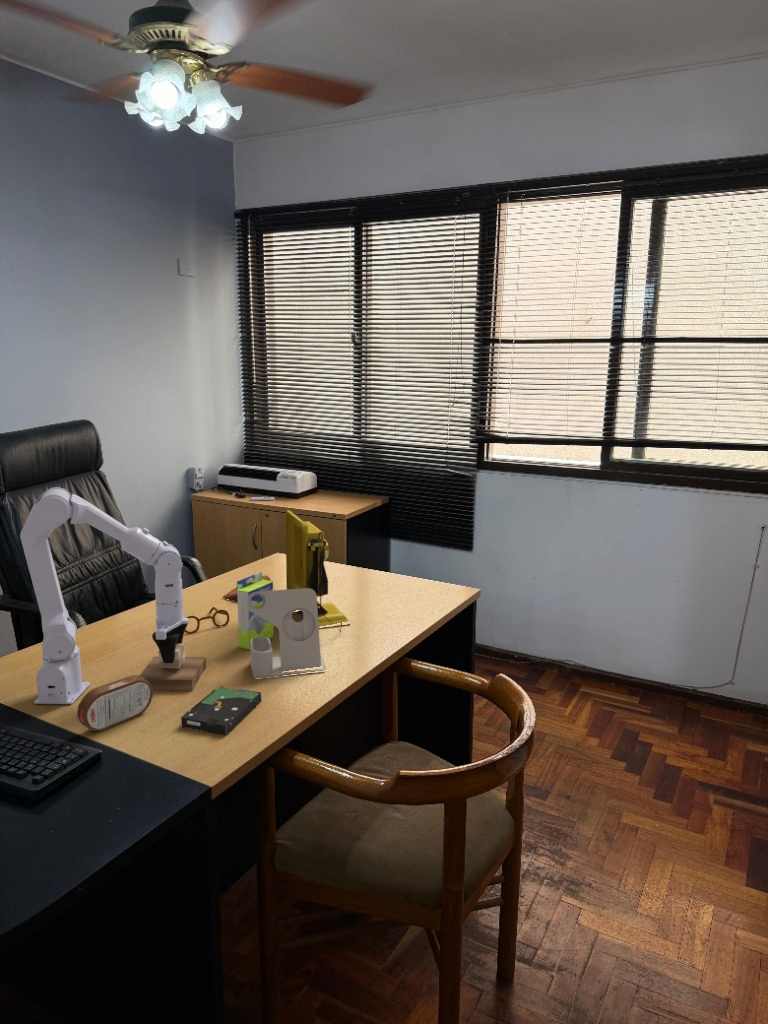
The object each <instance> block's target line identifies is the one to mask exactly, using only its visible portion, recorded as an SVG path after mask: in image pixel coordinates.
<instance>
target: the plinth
mask: <svg viewBox="0 0 768 1024" xmlns="http://www.w3.org/2000/svg"><path fill="white" fill-rule="evenodd" d="M206 659H207V658H206V657H205V656H200V657H199V656H185V661H184V663H183V664H182V665H181V667H180V668H159V656H154V657H153V658H152V659H151V660H149V661H150V662H149V663H148V664H147V665H146V666H145V668H144V669H143V670H142V672H141V673H140V674H139V676H141V677H143V678H144V679H145V680H147V681H148V682H149V683H150V684H151V686H152V691H193V690H194V689H195V686H197V684H198V682H199V680H200V678H201V676H202V675H203V673H204V672H205V670H206V668H207V660H206Z"/></svg>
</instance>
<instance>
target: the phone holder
mask: <svg viewBox="0 0 768 1024" xmlns="http://www.w3.org/2000/svg"><path fill="white" fill-rule="evenodd" d="M255 595H260V596H261V597H262V598H263V603H262V605H261V606H259V607H255V606H253V605H252V603H251V599H252V597H253V596H255ZM317 601H318V597H317V595H316V593H315V591H314V590H313V589H310V588H302V589H287V588H286V589H276V590H274V589H273V591H260V592H253V593H251V594H250V595H249V597H248V599H247V607H248V609H249V610H250V611H251V612H252V613H254V614H256V615H257V616H259V617H261V618H262V619H264V620H266V621H267V622H269V623H271V624H272V625H273V627H276V628H277V629H278V636H279V637H278V638H279V639H278V640H279V653H280V654H279V655H280V656H273V647H272V644H271V643H272V642H271V641H270V639H269V638H267V637H255V638H253V639H251V641H250V649H249V650H250V667H251V668H252V669H251V674H252V673H253V674H252V678H253V677H254V678H253V679H255V678H266V679H268V678H267V677H275V676H283V675H291V674H300V673H306V672H315V671H323V670H325V669H326V668H327V665H326V663H325V661H324V659H323V655H322V654H321V644H320V643H321V642H320V631H319V630H320V629H319V625H318V609H317ZM296 610H300V611H302V612H301V613H302V615H303V614H304V618H303V617H302V620H301V621H295V620H294V619H293V613H295V612H294V611H296ZM320 666H323V669H315V670H305V671H294V672H284V673H282V672H283V671H289V670H297V669H305V668H313V667H320ZM327 669H328V668H327Z"/></svg>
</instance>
